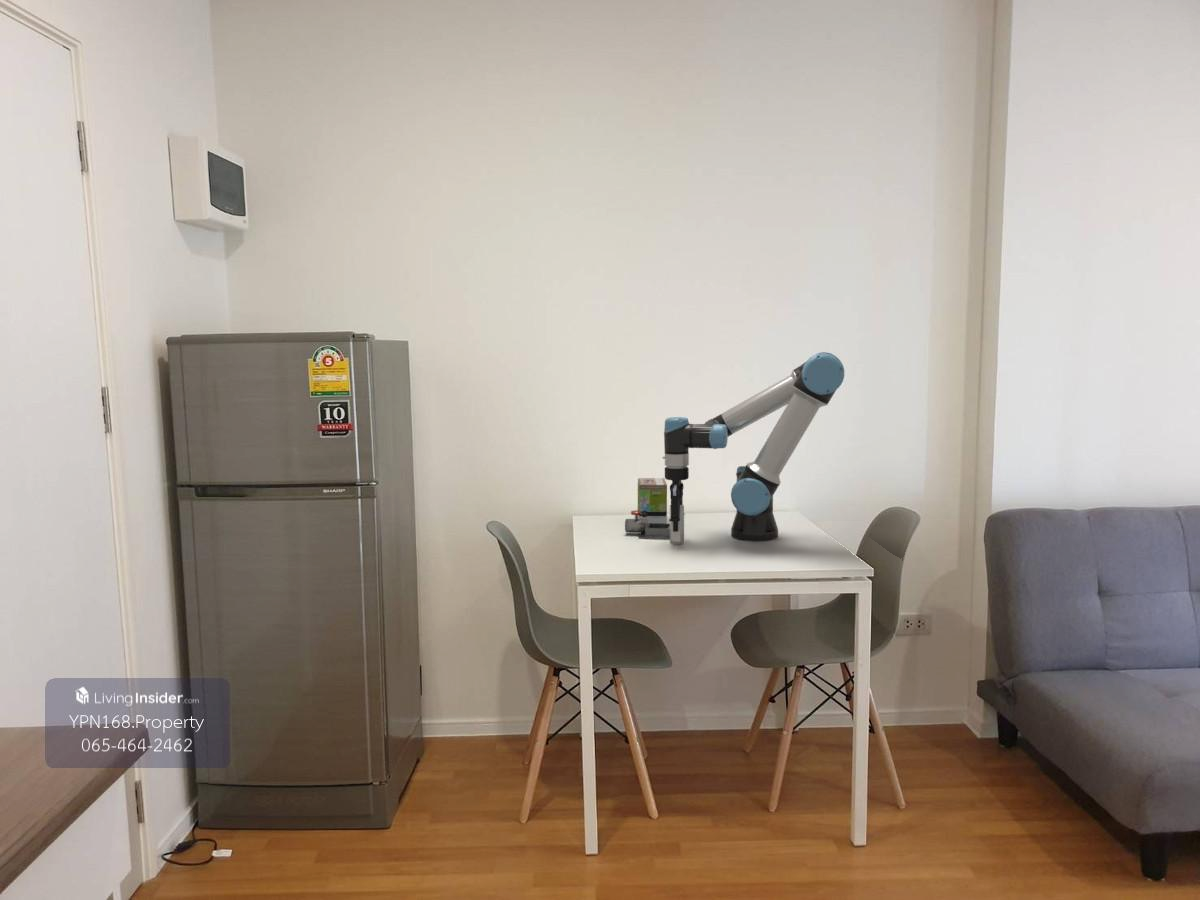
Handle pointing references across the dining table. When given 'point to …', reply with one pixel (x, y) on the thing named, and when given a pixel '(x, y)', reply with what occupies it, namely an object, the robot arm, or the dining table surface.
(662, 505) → the tea box
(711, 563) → the dining table surface
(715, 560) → the dining table surface
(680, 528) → the pipe
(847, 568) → the dining table surface
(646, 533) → the grey knobbed block
